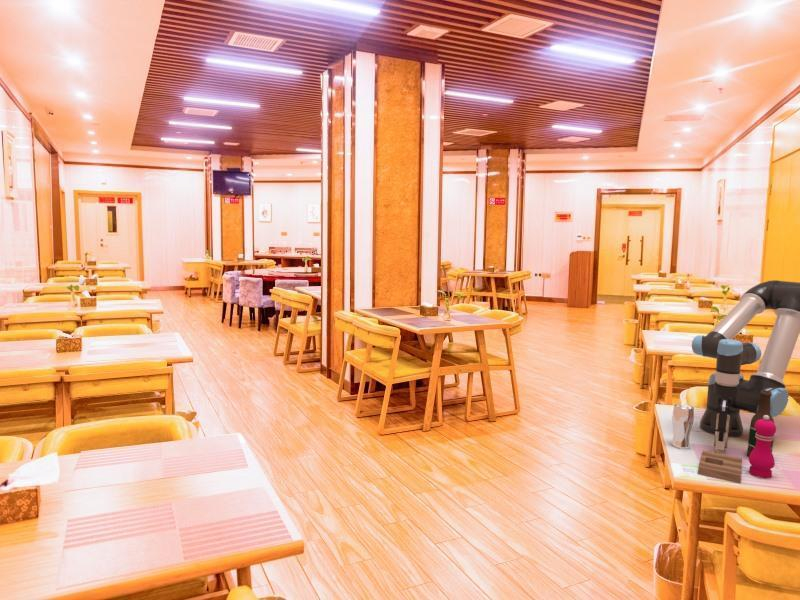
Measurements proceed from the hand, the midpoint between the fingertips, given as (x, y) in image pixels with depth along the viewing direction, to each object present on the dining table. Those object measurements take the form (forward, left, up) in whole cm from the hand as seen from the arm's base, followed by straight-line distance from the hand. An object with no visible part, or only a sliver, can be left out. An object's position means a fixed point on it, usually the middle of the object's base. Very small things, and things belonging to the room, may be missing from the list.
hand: (720, 447), depth 208 cm
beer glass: (+1, -13, -2) cm, 13 cm away
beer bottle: (-3, +12, -2) cm, 13 cm away
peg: (0, 0, -2) cm, 2 cm away
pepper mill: (+13, +12, -2) cm, 18 cm away
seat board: (+17, +1, -2) cm, 17 cm away
